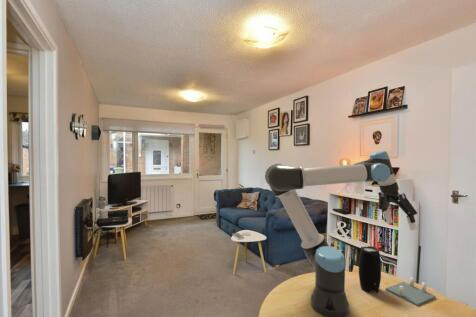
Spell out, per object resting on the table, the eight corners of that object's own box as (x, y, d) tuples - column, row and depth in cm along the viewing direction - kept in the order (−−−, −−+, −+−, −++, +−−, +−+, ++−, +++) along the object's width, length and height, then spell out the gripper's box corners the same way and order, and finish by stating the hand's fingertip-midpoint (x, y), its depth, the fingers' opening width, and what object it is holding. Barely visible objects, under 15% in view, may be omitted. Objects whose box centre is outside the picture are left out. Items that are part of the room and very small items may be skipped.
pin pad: (417, 306, 106) (417, 294, 106) (385, 290, 118) (385, 279, 118) (435, 298, 112) (435, 287, 112) (403, 283, 124) (403, 273, 124)
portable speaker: (382, 295, 114) (382, 253, 113) (359, 291, 117) (359, 250, 117) (379, 286, 122) (379, 246, 121) (357, 282, 125) (358, 244, 125)
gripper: (417, 181, 106) (432, 229, 106) (375, 179, 130) (387, 218, 131) (402, 187, 105) (418, 235, 105) (363, 184, 129) (375, 223, 129)
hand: (401, 226), depth 118 cm, fingers open, 13 cm apart
